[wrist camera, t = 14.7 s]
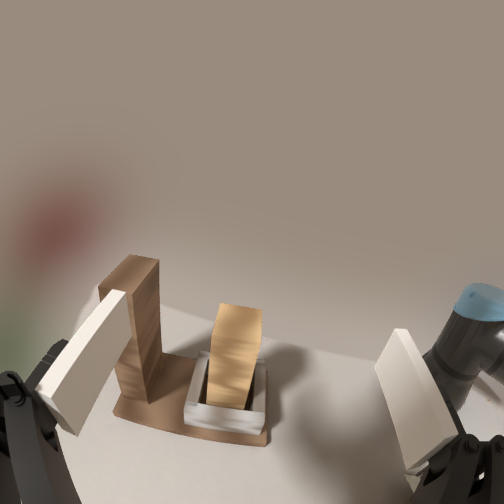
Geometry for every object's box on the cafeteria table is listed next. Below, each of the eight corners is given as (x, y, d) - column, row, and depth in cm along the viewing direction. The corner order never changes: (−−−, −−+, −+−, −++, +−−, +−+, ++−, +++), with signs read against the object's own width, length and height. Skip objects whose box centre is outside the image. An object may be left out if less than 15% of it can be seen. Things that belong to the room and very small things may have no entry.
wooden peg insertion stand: (265, 375, 42) (294, 270, 35) (264, 447, 30) (309, 345, 22) (143, 352, 42) (136, 244, 34) (114, 415, 29) (79, 300, 21)
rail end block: (244, 385, 38) (262, 308, 33) (241, 417, 33) (260, 343, 27) (212, 379, 38) (221, 301, 33) (205, 412, 33) (211, 334, 27)
